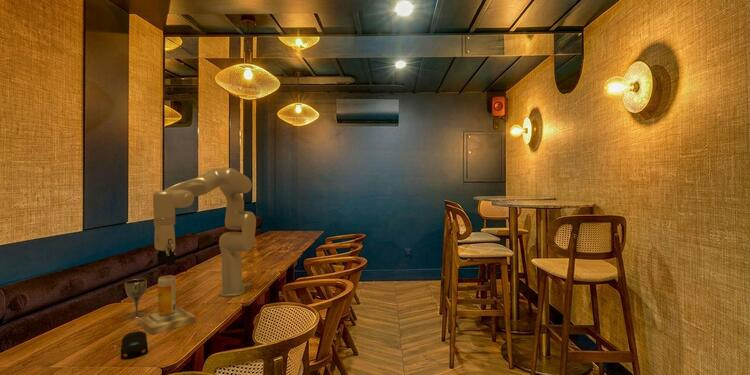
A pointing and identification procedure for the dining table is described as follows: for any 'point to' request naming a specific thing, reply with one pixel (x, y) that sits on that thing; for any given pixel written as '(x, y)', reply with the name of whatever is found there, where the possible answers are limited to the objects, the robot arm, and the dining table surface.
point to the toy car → (134, 344)
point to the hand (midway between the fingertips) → (166, 263)
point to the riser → (166, 321)
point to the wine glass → (136, 294)
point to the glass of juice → (166, 295)
